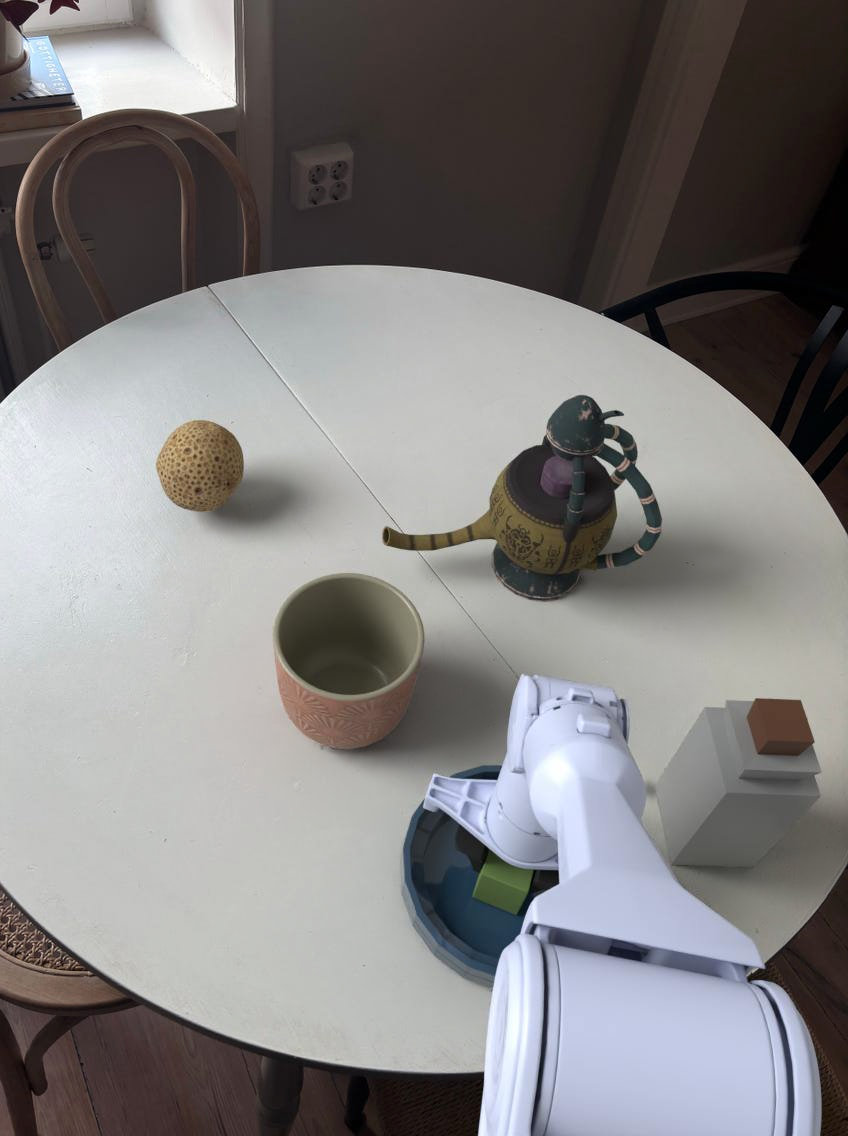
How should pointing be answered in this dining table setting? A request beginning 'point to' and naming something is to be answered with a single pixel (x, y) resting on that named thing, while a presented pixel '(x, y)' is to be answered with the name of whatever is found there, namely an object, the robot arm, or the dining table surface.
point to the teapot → (556, 506)
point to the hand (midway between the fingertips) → (506, 870)
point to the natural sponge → (200, 466)
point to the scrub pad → (502, 883)
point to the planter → (347, 658)
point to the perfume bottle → (738, 782)
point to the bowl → (454, 895)
